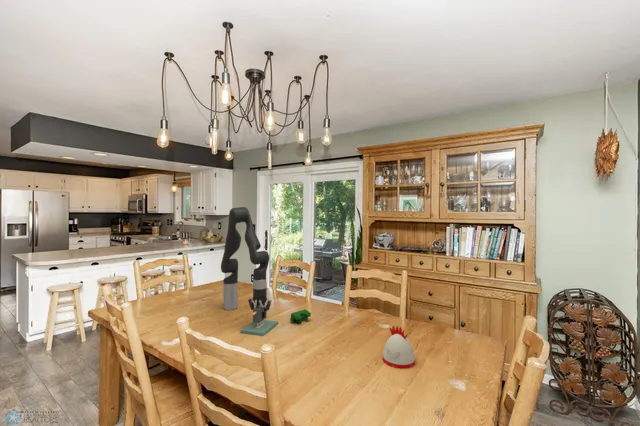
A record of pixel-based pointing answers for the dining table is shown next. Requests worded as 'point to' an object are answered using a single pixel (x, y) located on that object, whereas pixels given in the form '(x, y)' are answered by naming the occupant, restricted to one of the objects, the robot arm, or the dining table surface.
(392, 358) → the kitchen timer
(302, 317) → the green toy animal
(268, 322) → the header board
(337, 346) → the dining table surface
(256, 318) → the block
